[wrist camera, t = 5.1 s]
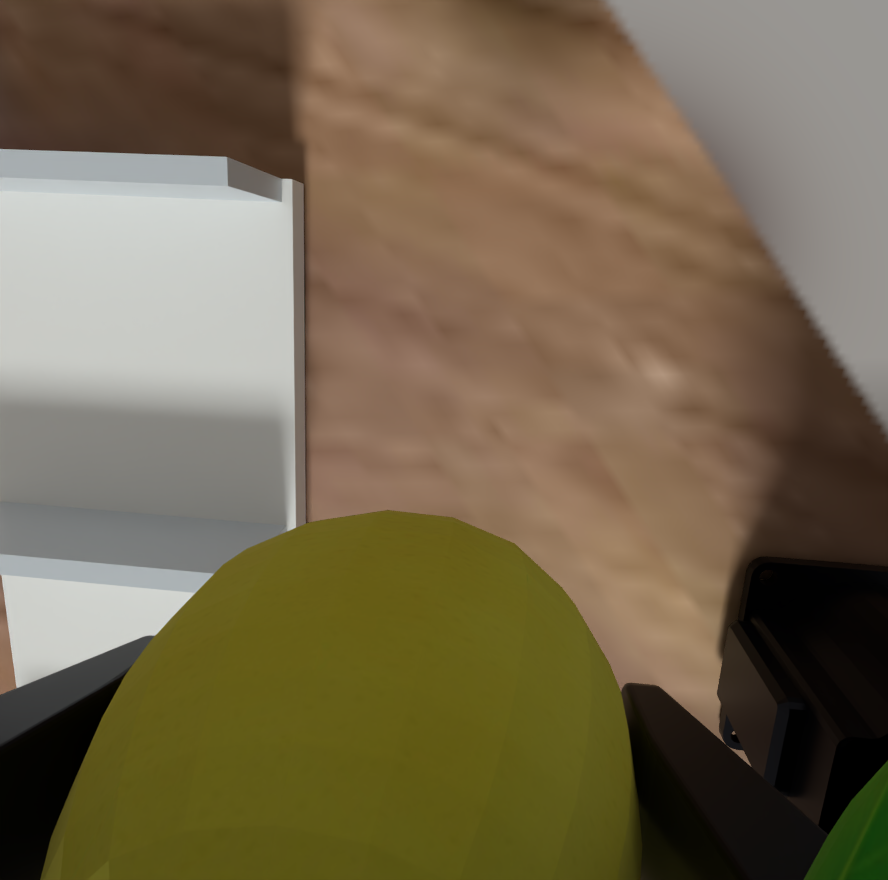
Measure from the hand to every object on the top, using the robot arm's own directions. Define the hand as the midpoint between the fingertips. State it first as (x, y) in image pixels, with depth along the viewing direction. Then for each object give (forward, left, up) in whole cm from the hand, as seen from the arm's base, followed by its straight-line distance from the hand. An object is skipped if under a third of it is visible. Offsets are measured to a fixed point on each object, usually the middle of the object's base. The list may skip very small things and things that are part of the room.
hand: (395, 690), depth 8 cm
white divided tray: (+10, +3, -12) cm, 16 cm away
